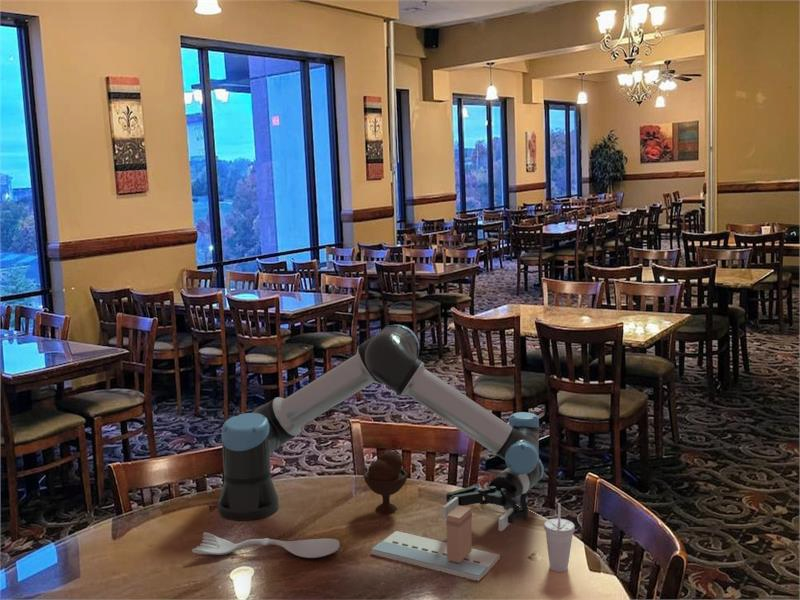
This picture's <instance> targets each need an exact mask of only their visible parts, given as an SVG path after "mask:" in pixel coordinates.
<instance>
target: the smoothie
mask: <svg viewBox="0 0 800 600" xmlns="http://www.w3.org/2000/svg"><path fill="white" fill-rule="evenodd" d="M561 504H562V503H557V518H551V519H547V520H546V521H544V524H543V529H544V531H545V538H546V545H547V546H546V547H547V553H548V562H549V563H548V564H549V569H550V570H552V571H554V572H557V573H562V572H566V571H567V570H568V568H569V563H570V562H569V561H570V557H571V556H570V555H571V548H572V543H573V542H572V540H573V533H575V531H576V529H575V526H576V525H575V524H574V523H573V522H572V521H571V520H568V519H564V518H561V517H562V516H561V515H562V513H561V510H562V509H561V508H562V507H561V506H562V505H561Z"/></svg>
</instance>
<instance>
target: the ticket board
mask: <svg viewBox="0 0 800 600" xmlns="http://www.w3.org/2000/svg"><path fill="white" fill-rule="evenodd" d="M371 555H374V556H377V557H382V558H385V559H389V560H394V561H397V560H398V561H399V562H402V563H405V562H406V564H410V565H414V566H417V565H418V567H421V568H425V569H430V570H433V571H438V572H440V571H441V573H444V574H445V573H446V574H449V575H453V576H457V577H462V578H464V577H465V578H464V579H469V580H472V581H476V580H477V582H480V581H481V580H482V579H483V578H484V577H485V576H486V574H487V573H488V572H489V571H490V570H491V569H492V568H493V567H494V566H495V565H496V564H497V563H496V562H497V561H498V560H499V561H500V559H501V558H500V557H501V555H500V554H496V553H494V552H488V551H485V550H480V549H475V548H472V552H471V553H470V554H468V555H467V556H466V557H465V558H464V559H463V560H462V561H461V562H460V563H458V562H454V561H450V560H447V541H441V540H437V539H432V538H429V537H424V536H420V535H415V534H411V533H406V532H402V531H398V530H395V531H394V532H393V533H391V534H390V535H389V536H387V537H386V538H385V539H384V540H381V541H380V542H378V543H376V545H375V546H373V547H372V548H371ZM398 561H397V562H398ZM499 561H498V562H499ZM495 563H496V564H495ZM481 578H482V579H481ZM480 579H481V580H480ZM479 580H480V581H479Z"/></svg>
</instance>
